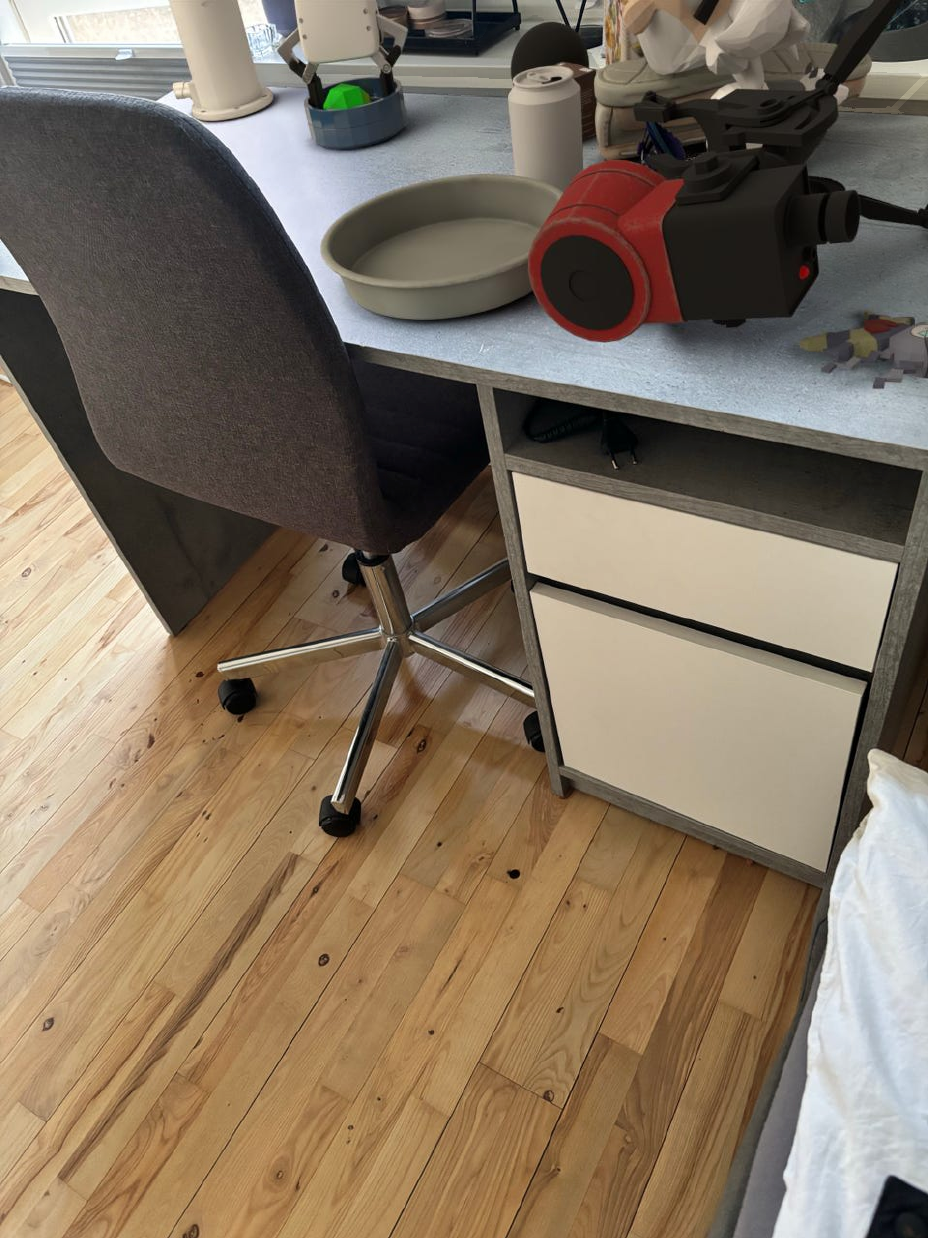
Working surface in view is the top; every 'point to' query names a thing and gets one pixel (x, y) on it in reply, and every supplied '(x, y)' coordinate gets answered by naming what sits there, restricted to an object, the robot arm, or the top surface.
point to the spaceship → (659, 144)
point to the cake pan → (441, 245)
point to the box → (585, 96)
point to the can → (546, 125)
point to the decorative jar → (619, 35)
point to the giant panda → (787, 88)
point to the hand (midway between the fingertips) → (355, 107)
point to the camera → (708, 213)
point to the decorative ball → (548, 48)
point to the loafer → (690, 93)
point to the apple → (346, 97)
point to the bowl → (358, 117)
